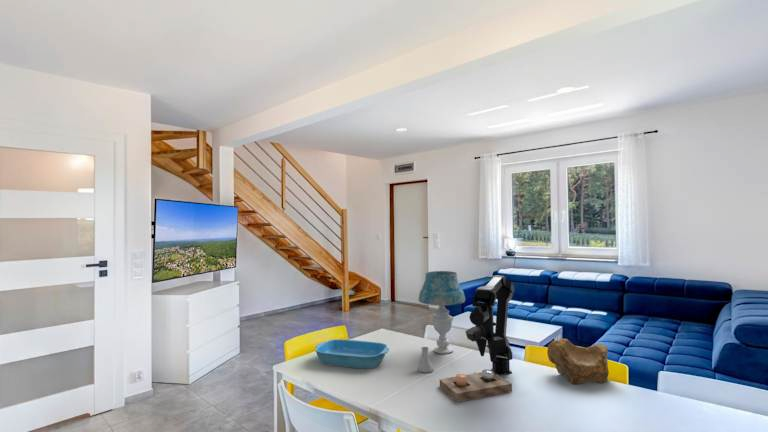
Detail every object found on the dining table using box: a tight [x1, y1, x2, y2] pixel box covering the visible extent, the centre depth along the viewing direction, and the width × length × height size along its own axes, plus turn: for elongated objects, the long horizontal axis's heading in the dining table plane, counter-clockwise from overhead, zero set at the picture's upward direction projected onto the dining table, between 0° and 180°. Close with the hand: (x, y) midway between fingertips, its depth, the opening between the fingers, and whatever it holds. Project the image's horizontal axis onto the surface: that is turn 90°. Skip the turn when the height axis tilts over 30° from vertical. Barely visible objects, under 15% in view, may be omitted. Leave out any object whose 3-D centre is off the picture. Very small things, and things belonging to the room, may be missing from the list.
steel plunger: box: [481, 368, 495, 382], centre depth 152 cm, size 4×4×3 cm
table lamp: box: [418, 270, 466, 355], centre depth 196 cm, size 24×24×40 cm
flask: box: [417, 346, 434, 374], centre depth 170 cm, size 7×7×10 cm
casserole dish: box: [315, 338, 390, 370], centre depth 184 cm, size 37×22×7 cm, turn 73°
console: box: [438, 371, 513, 402], centre depth 150 cm, size 24×14×3 cm, turn 108°
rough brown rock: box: [547, 338, 610, 385], centre depth 156 cm, size 23×17×15 cm
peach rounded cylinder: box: [455, 373, 468, 387], centre depth 148 cm, size 4×4×3 cm
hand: (487, 358), depth 152 cm, fingers open, 7 cm apart
